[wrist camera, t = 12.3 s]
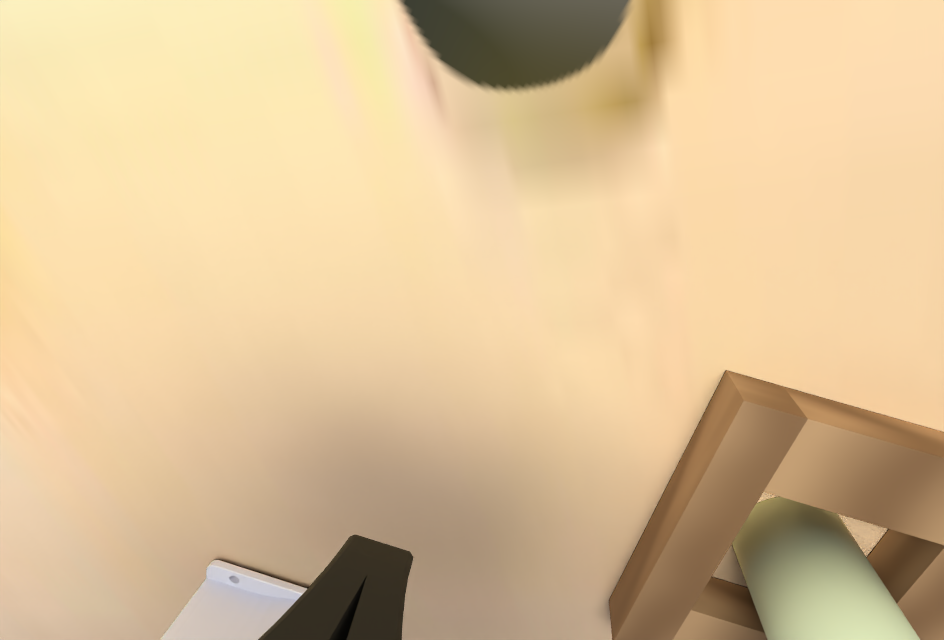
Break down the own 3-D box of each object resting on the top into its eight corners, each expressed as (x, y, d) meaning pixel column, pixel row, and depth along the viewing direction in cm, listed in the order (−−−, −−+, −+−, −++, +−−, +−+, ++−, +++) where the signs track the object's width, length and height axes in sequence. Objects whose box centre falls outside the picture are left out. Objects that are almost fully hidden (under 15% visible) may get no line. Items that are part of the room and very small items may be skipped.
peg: (714, 557, 21) (791, 795, 14) (759, 483, 20) (872, 708, 12) (813, 587, 21) (943, 845, 14) (866, 514, 19) (1046, 763, 12)
